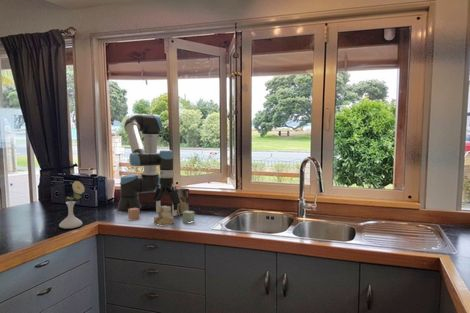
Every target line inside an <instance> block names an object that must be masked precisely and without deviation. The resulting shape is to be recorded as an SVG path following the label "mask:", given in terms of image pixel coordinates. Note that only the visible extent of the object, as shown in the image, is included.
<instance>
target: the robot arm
mask: <svg viewBox="0 0 470 313" xmlns="http://www.w3.org/2000/svg"><path fill="white" fill-rule="evenodd" d="M162 122H163V121H162V118H161V116H160V115H159V114H154V113H152V114H150V113H134V114H132V115H130V116H129V117H127V119H126V120H125V121H124V132H125V133H126V134H127V137H128V141H129V142H128V143H129V146H130V150H131V153H130V154H129V165H130V166H133V167H143V171H142V172H141V176H140V175H139V174H137V173H133V174H132V173H131V174H127V175H123V176H121V178H120V181H119V182H120V183H119V186H120V188H119V190H120V191H119V192H120V195H119V196H120V198H119V201H118V205H117V211H121V212H128V209H131V208H138V209H140V210H141V209H142V204H141V201H140V198H139V194H147V193H154V195H153V198H152V199H153V200H154V201H155V209H156V210H155V213H158V207H161V206H162V204H161V199H162V197H163V196H164V195H165V194H167V195H168V197H169V198H170V201H171V217H174V216H178V215H177V204H179V203H180V200H179V197H178V194H177V191H176V189H177V186H176V185H175V186H172V185H174V151H173V150H172V149H162V150H159V152H158V137H159V136H160V133H161V132H162V131H163V123H162ZM141 134H142V135H141ZM142 136H143V139H142ZM157 166H159V172H158V171H157ZM177 201H178V202H177ZM172 202H173V204H172Z"/></svg>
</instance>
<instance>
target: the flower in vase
mask: <svg viewBox="0 0 470 313" xmlns="http://www.w3.org/2000/svg"><path fill="white" fill-rule="evenodd" d="M71 187H72V191H74V192H73V193H74V194H73V197H71V196H70V197H69V196H66V199H68V200H70V201H66V202H65V204H66V206H67V209H68V211H67V212H68V214H67V216H66V217H65V218H64V219H62V221H61V222H60V223H59V224H58V226H59V228H61V229H65V230H66V229H75V228H79V227H81V226H82V225H83V221H82V220H81V219H79V217H78V218H77V217H76V216H75V214H74V206H75V204H76V203H77V201H74V200H73V199H74V198H75V199H77V200H78V199H81V197H82V196H81V195H83V193H85V190H86V189H85V186H84V184H83V183H81V181H79V180H75V181H73V182H72V185H71Z"/></svg>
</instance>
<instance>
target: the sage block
mask: <svg viewBox="0 0 470 313" xmlns="http://www.w3.org/2000/svg"><path fill="white" fill-rule="evenodd" d="M183 221H184V222H191V221H194V222H195V211H194V210H189V211H185V212H183V215H182V222H183Z"/></svg>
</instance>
